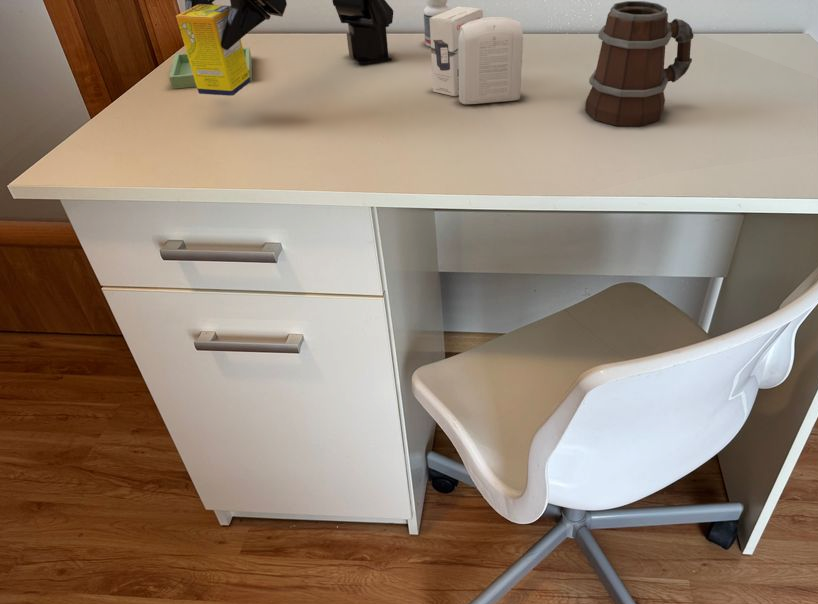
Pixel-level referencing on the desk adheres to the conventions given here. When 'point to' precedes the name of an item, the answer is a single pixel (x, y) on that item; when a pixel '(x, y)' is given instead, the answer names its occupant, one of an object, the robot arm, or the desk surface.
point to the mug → (636, 64)
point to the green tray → (183, 72)
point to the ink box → (448, 47)
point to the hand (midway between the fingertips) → (205, 44)
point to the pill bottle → (435, 7)
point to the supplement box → (212, 51)
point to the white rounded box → (490, 60)
